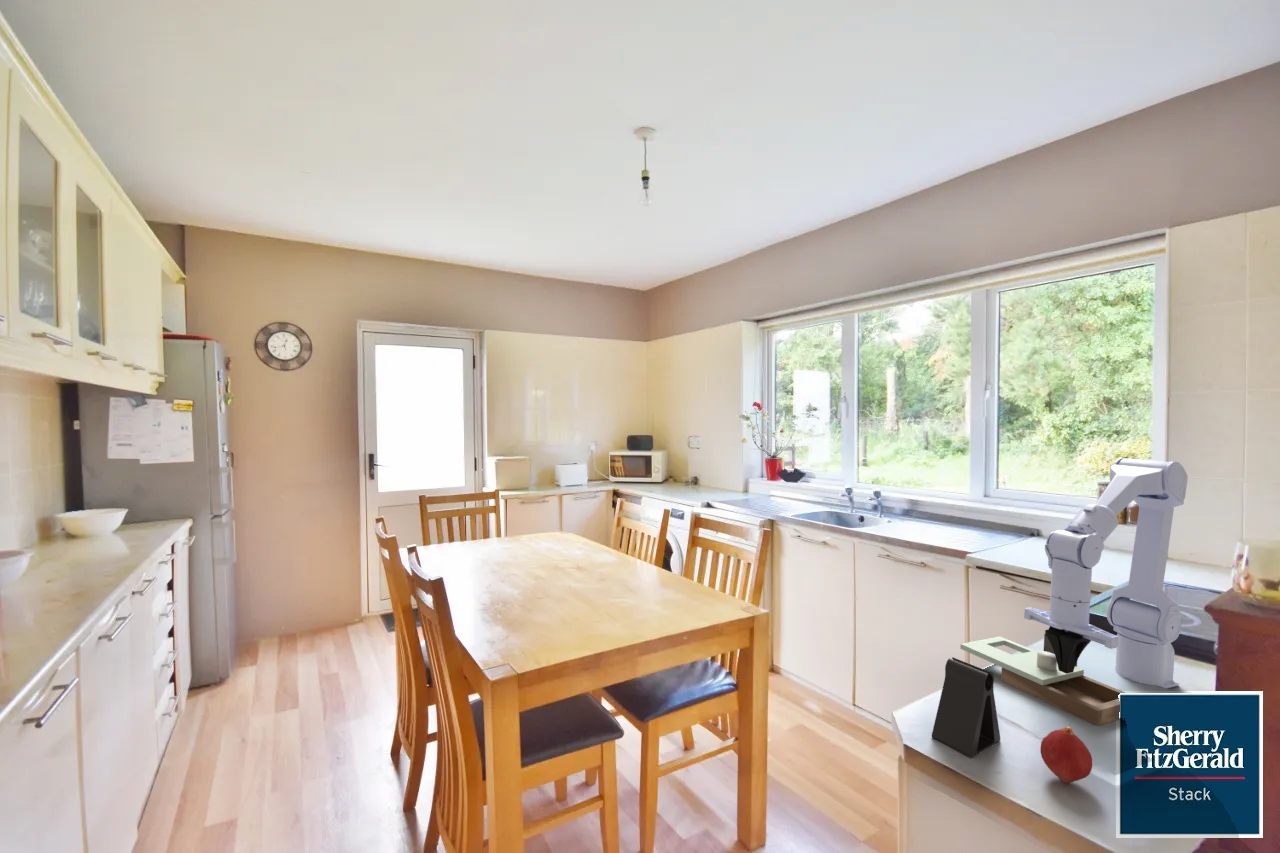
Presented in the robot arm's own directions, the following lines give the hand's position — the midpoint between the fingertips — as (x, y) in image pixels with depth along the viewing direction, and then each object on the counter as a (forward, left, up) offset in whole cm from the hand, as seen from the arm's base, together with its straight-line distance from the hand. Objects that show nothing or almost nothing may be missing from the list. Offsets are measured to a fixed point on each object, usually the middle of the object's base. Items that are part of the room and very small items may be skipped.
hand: (1065, 671), depth 101 cm
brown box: (0, 0, -5) cm, 5 cm away
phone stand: (+29, +2, -6) cm, 30 cm away
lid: (0, -8, -2) cm, 8 cm away
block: (-10, -7, -5) cm, 13 cm away
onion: (+25, +14, -6) cm, 29 cm away
